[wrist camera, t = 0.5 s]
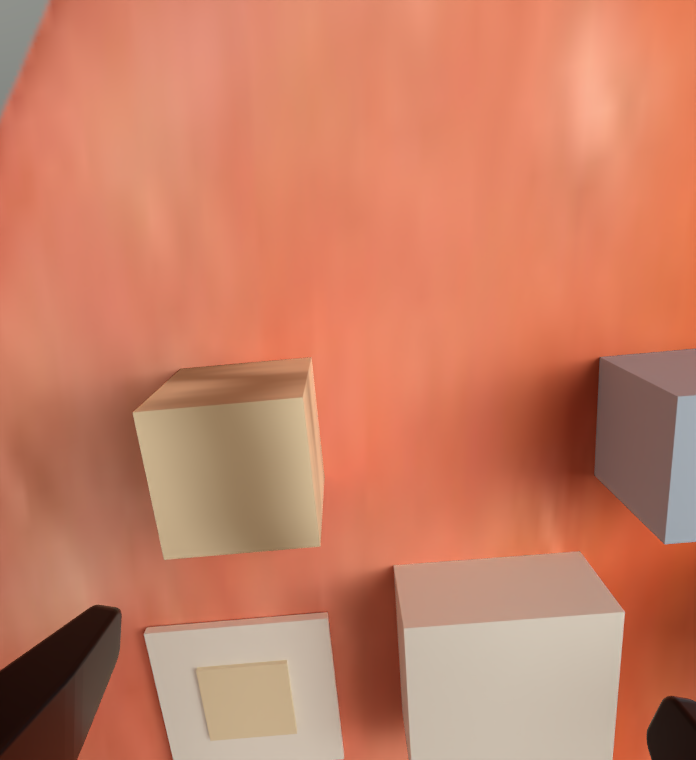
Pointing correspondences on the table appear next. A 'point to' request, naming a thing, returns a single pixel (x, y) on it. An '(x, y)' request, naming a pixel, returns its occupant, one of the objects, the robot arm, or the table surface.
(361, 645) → the table surface
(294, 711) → the tile
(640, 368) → the slate-blue cube
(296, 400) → the birch cube
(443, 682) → the base block
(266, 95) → the table surface
